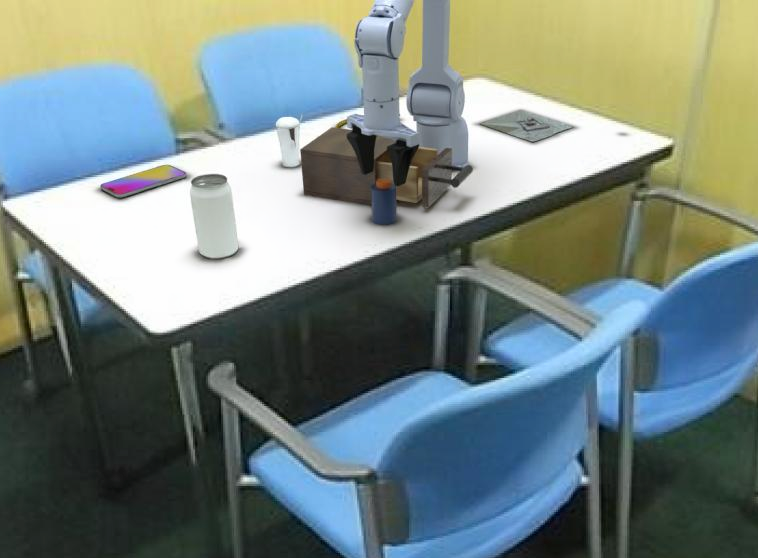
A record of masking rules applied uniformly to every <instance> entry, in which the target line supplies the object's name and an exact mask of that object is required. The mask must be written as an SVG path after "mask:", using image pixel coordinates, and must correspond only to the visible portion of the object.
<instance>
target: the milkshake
mask: <svg viewBox="0 0 758 558" xmlns="http://www.w3.org/2000/svg"><path fill="white" fill-rule="evenodd" d="M302 118H303V113H301V116H300V119H297V118H296V117H293V116H282V117H280V118H279V119H278V120H277V121H276V122H275V129H276V133H277V138H278V143H279V148H280V155H281V160H282V165H283V167H284V168H285V167H286V168H297V167H298V166H300V129H301V127H300V126H301V120H302Z"/></svg>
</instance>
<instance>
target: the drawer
mask: <svg viewBox="0 0 758 558" xmlns="http://www.w3.org/2000/svg"><path fill="white" fill-rule="evenodd" d="M376 165H377V180H378V179H381V178H387V179H390V181H391V183H393V184H394V181H393V168H392V162H391V158H390V155H389V153H387V154H386V155H384V156H383V157H382V158H381V159H380V160H378V161H377V162H376ZM453 171H455V172H457V174H456V175H455V176H454V177H452V174H453V173H452V172H453ZM473 171H474V168H473V166H472V165H470V164H469V165H466V166H465V167H457V166H452V148H445V149H444V150H443V151H442V152H441V153H440V154H438V149H434V148H426V147H419V148H418V149H417V151H416V153H415V155H414V157H413V159H412V161H411V164H410V167H409V171H408V175H407V179H406V183H405V184H402V185H400V186H396V201H402V202H409V203H414V204H415V203H416V204H417V203H418V202H419V201H421V207H422V208H428V209H429V208H430V207H431V206H432V205H433V204H434V203H435V202H436V201H437V200H438V199H439V198H440V197H441V196H442V195H443V194H444V193H445V192H446V191H447V189H449V188H450V186H451V187H452V188H459V187H460V185H461V184H463V182H464V181H466V179H467V178H468V177H470V175H471V174H472V173H473Z"/></svg>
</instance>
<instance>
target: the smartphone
mask: <svg viewBox="0 0 758 558" xmlns="http://www.w3.org/2000/svg"><path fill="white" fill-rule="evenodd" d="M186 177H187V172H186V171H184V170H182V169H179V168H178V167H175V166H173V165H170V164H162V165H159V166H156V167H152V168H150V169H149V168H148V169H146V170H142V171H140V172H139V171H138V172H136V173H133V174H130V175H126V176H123V177H119V178H116V179H114V180H109V181H106V182H104V183H101V184H100V190H102V191H104V192H106V193H108V194H110V195H112V196H113V197H115V198H125V197H129V196H132V195H135V194H138V193H140V192H144V191H147V190H150V189H153V188H156V187H159V186H163V185H165V184H169V183H171V182H175V181H178V180H182V179H185V178H186Z"/></svg>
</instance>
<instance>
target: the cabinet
mask: <svg viewBox="0 0 758 558" xmlns="http://www.w3.org/2000/svg"><path fill="white" fill-rule="evenodd" d="M350 132H352V129H350V128H342V127H339V128H335V126H334V127H333V126H331V127H330V128H328V129H327V130H326V131H324V132H322V133H321V134H320V135H319V136H317V137H316V138H314V139H313V140H311V141H310V142H309V143H306V145H304V146H302V147H301V148H299V154H300V163H301V164H300V166H301V175H302V186H303V187H302V188H303V189H302V190H303V195H304V196H311V197H317V198H323V199H329V200H335V201H343V202H349V203H354V204H355V203H356V204H362V205H369V206H372V198H371V186H372V185H373V184H375V183H376V181H377V165H376V162H377V161H378V160H380V159H381V158H382V157H383V156H384V155H386V154H387V153H388V150H387V146H389V145H392V144H396V141H395V140H392V139H389V138H385V137H382V136H379V135H377V137H376V141H375V149H374V169H373V172H371V173H369V174H366V175H363V174H362V172H361V169H360V165H359V162H358V159H357V156H356V154H355V151H354V149H353V147H352V145H351V144H350V142H349V141H348V139H347V134H348V133H350Z"/></svg>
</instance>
